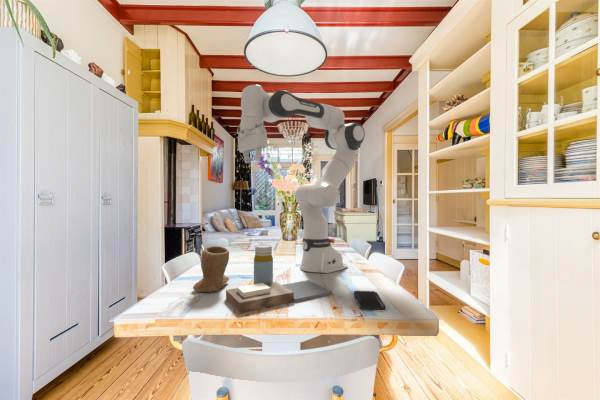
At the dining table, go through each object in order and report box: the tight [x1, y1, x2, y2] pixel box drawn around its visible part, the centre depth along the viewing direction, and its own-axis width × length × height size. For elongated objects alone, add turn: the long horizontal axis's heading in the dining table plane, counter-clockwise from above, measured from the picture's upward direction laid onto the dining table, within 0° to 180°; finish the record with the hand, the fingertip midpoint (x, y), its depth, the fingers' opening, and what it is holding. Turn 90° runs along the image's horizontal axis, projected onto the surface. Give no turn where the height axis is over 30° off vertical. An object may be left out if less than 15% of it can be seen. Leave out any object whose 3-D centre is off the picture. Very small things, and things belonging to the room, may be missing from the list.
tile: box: [236, 283, 271, 297], centre depth 94 cm, size 9×6×2 cm, turn 121°
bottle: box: [253, 244, 274, 284], centre depth 109 cm, size 7×7×15 cm
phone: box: [353, 290, 386, 311], centre depth 95 cm, size 8×1×15 cm
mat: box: [281, 279, 334, 303], centre depth 104 cm, size 15×15×1 cm
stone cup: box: [192, 245, 230, 293], centre depth 108 cm, size 15×12×15 cm
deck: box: [225, 281, 294, 314], centre depth 95 cm, size 18×13×3 cm
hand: (252, 161), depth 117 cm, fingers open, 8 cm apart
